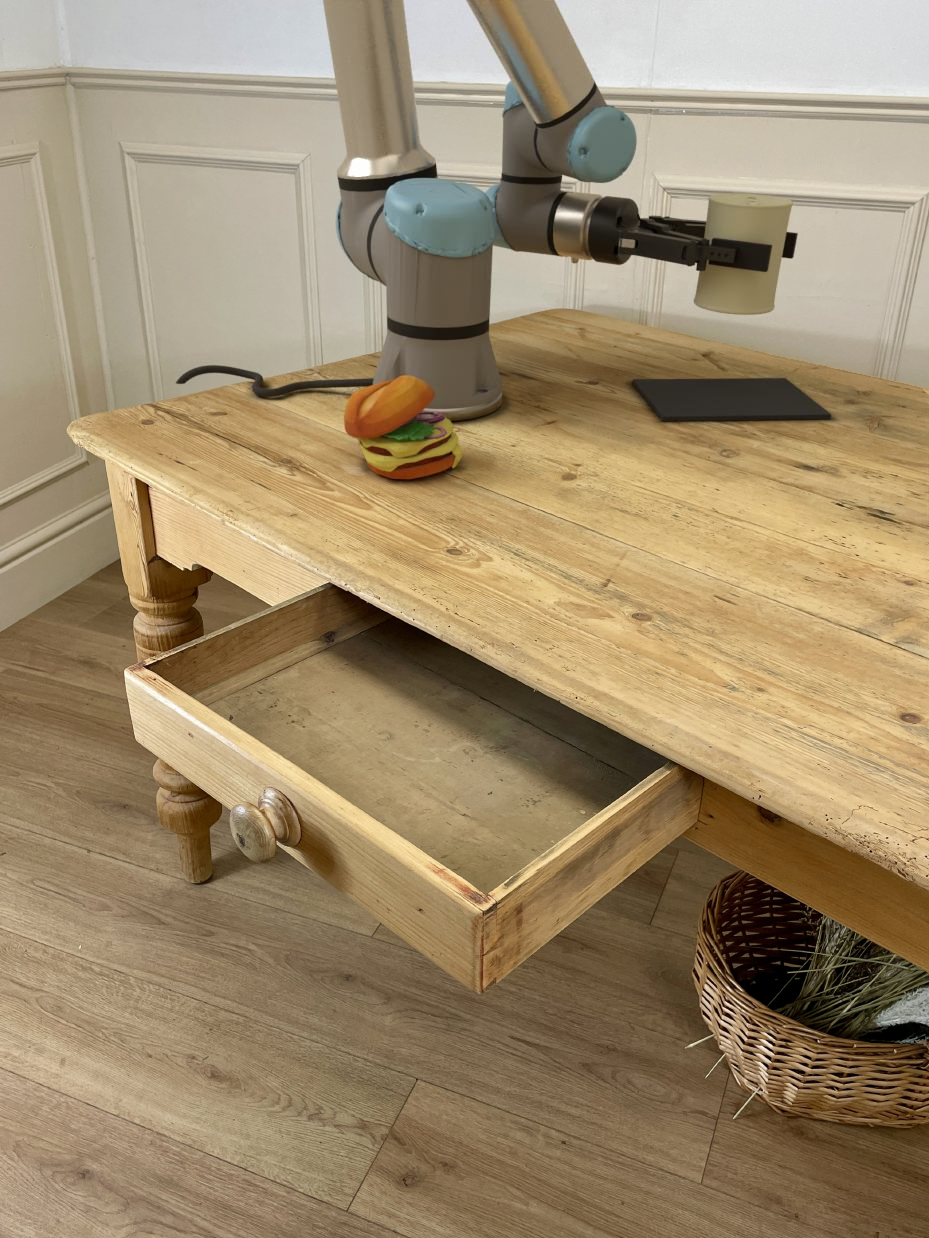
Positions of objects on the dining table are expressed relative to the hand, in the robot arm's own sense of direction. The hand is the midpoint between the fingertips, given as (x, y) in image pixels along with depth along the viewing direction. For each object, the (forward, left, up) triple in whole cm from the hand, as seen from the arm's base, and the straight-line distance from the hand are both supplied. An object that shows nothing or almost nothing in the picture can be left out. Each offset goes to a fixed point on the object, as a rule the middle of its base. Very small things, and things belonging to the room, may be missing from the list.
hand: (782, 252), depth 111 cm
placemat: (-3, +1, -17) cm, 18 cm away
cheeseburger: (-43, -18, -17) cm, 50 cm away
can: (-4, +3, -7) cm, 8 cm away
